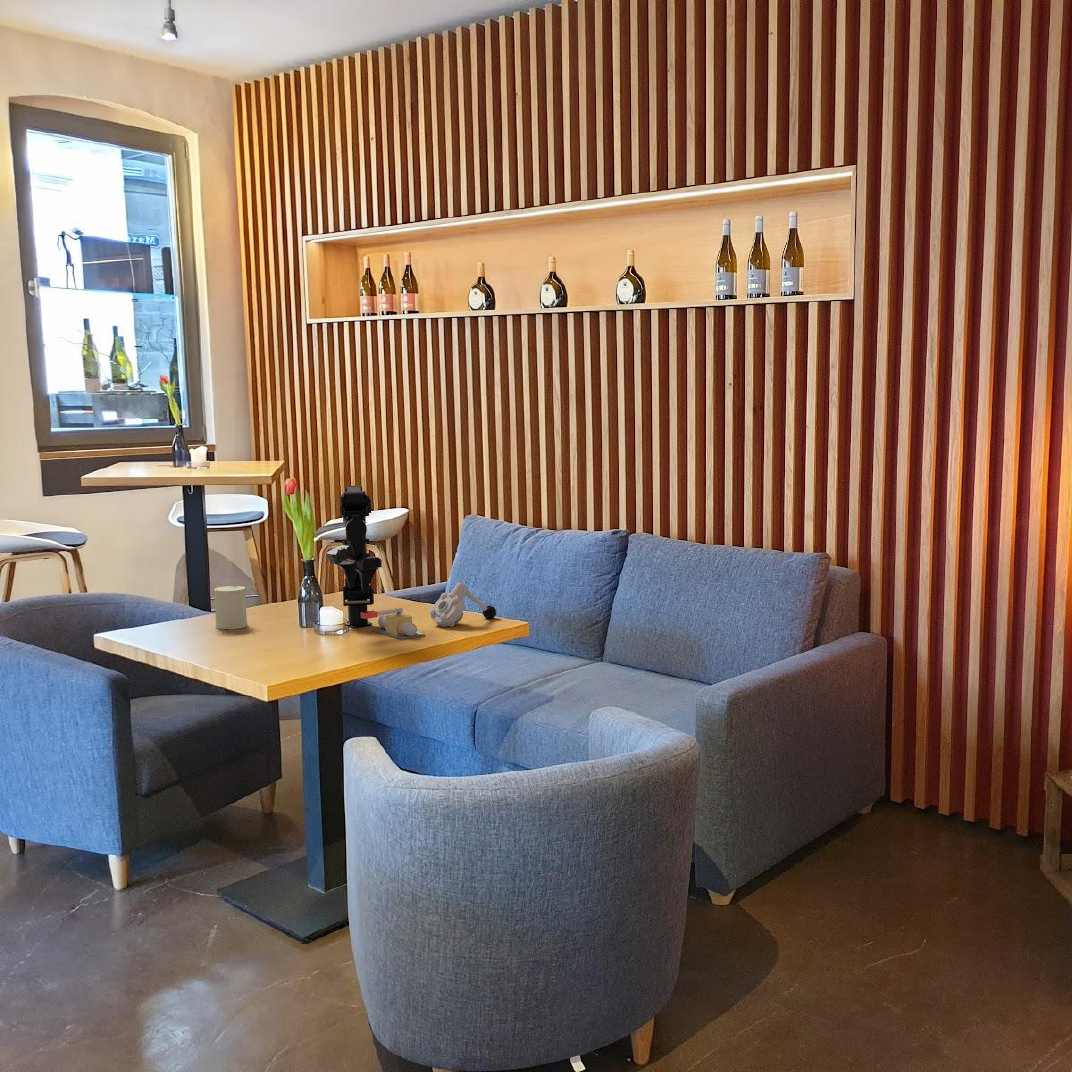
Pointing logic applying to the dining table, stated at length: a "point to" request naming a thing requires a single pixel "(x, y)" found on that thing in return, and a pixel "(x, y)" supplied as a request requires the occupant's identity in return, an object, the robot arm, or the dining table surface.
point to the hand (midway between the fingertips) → (357, 590)
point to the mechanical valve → (456, 607)
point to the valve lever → (379, 613)
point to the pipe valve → (397, 626)
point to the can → (230, 607)
